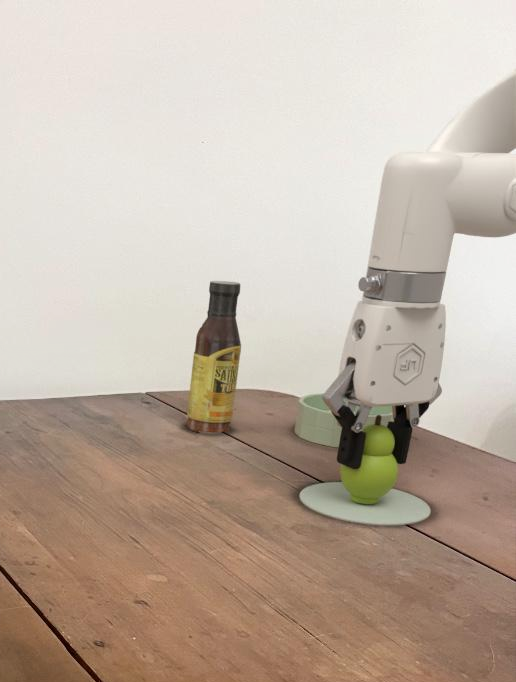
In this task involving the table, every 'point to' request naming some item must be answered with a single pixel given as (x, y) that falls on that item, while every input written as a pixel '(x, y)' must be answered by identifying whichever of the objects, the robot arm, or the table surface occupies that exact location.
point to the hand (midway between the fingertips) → (371, 461)
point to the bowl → (328, 420)
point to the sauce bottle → (215, 362)
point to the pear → (372, 466)
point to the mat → (364, 505)
